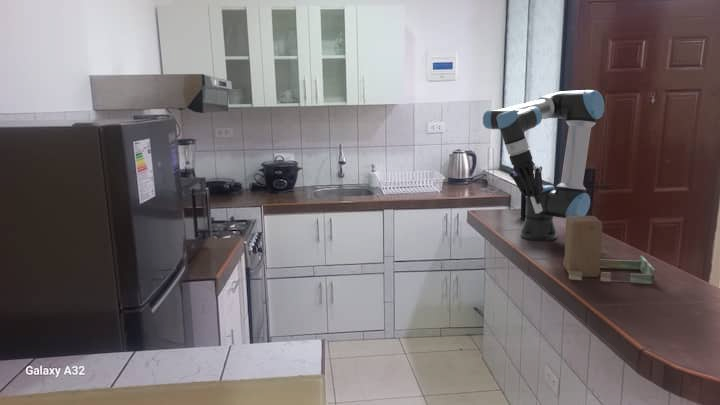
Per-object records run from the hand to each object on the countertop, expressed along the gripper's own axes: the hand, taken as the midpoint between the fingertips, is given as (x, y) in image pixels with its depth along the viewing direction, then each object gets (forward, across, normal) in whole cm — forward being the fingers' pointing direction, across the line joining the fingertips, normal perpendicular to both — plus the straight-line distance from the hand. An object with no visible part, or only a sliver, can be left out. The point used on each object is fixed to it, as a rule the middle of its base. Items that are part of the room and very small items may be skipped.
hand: (539, 211), depth 180 cm
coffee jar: (+22, -48, +57) cm, 78 cm away
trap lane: (+26, +16, +2) cm, 31 cm away
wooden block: (+24, +10, -2) cm, 26 cm away
